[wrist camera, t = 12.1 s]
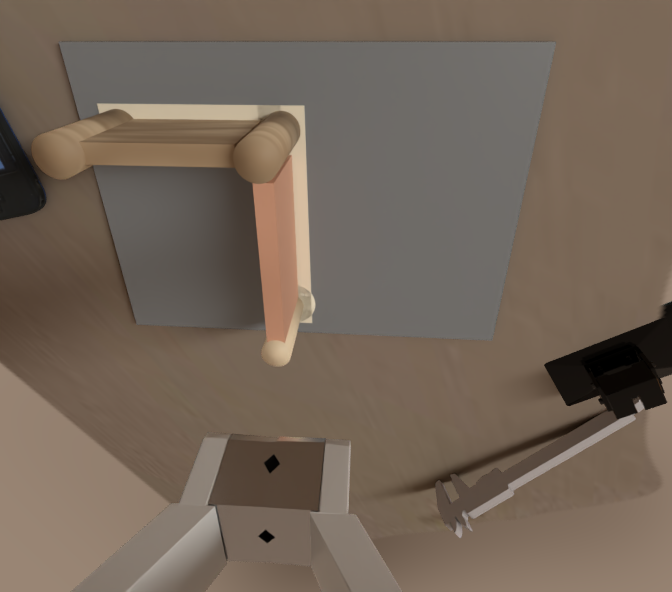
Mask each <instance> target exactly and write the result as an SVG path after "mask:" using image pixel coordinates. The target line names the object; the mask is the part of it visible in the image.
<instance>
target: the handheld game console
mask: <svg viewBox="0 0 672 592" xmlns="http://www.w3.org/2000/svg"><path fill="white" fill-rule="evenodd" d="M45 203H46V194H45V191H44V189H43V187H42V185H41V183H40V181H39V179H38V177H37V175H36V173H35V171H34V170H33V168H32V166H31V164H30V162H29V160H28V158H27V156H26V155H25V153H24V151H23V149H22V147H21V145H20V143H19V142H18V140H17V138H16V136H15V134H14V132H13V131H12V129H11V127H10V125H9V123H8V121H7V120H6V118H5V116H4V114H3V112H2V110H1V109H0V220H4V219H9V218H14V217H19V216H24V215H29V214H32V213H35V212H37V211H39V210H40V209H42V208H43V207H44V205H45Z"/></svg>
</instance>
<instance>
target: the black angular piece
mask: <svg viewBox="0 0 672 592" xmlns="http://www.w3.org/2000/svg"><path fill="white" fill-rule="evenodd" d="M544 366H545V368H546V369H547V371H548V373H549V375H550V376H551V378H552V380H553V382H554V383H555V385H556V387H557V389H558V391H559V392H560V394H561V396H562V398H563V399H564V401H565V403H566V405H567V406H571V405H574V404H576V403H579V402H582V401H585V400H588V399H591V398H593V397H596V396H600V399H598V400H599V402H600V404H601V405H602V404H604V405H605V407H606V408H607V410H608V412H610V411H613V413H614V415H615V417H616V418H617V419H621V418H624V417H627V416H630V415H633V414H636V413H638V411H637V409H636V407H635V405H634V403H633V400H632V399H635V398H637V397H639V398H640V401H641V403H642V405H643V407H644V408H645V410H648V409H651V408H654V407H656V406H660V405H663V404H666V403H667V401H666V398H665V396H664V394H663V393H664V390H663V387H662V385H661V384H662V381H661V379H660V378H663V377H666V376H669V375H672V301H670V302H668V303H665V304H663V305H662V310H661V316H660V319H659V320H657V321H654V322H651V323H649V324H646V325H644V326H641V327H638V328H636V329H633V330H631V331H628V332H626V333H623V334H620V335H618V336H615V337H613V338H610V339H607V340H605V341H602V342H600V343H597V344H594V345H592V346H589V347H587V348H584V349H582V350H579V351H576V352H574V353H571V354H569V355H566V356H563V357H561V358H558V359H556V360H553V361H550V362H548V363H546V364H545V365H544Z"/></svg>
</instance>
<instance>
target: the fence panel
mask: <svg viewBox="0 0 672 592" xmlns="http://www.w3.org/2000/svg"><path fill="white" fill-rule="evenodd" d="M252 184H253V195H254V206H255V216H256V227H257V238H258V249H259V260H260V270H261V281H262V292H263V303H264V313H265V324H266V335H267V337H266V340H265V342H264V345H263V348H262V351H261V355H262V358H263V360H264V361H265V362H266V363H268V364H269V365H272V366H283V365H286V364H287V363H288V362H289V361H290V358H291V354H292V350H293V346H294V343H295V339H296V335H297V331H298V327H299V323H300V320H301V316H302V312H303V308H304V306H303V302H302V301H301V299H300V298H298V279H297V257H296V235H295V214H294V192H293V170H292V155H289V156H288V157H287V159H286V160H285V162H284V163H283V165H282V166H281V168H280V170H279V171H278V173H277V174H276V176H275V177H274V178H273V179H272V180H270V181H269V182H267V183H263V184H254V183H252Z"/></svg>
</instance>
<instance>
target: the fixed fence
mask: <svg viewBox="0 0 672 592" xmlns="http://www.w3.org/2000/svg"><path fill="white" fill-rule="evenodd" d="M299 138H300V125H299V123H298V121H297V119H296V118H295V117H294V116H293V115H292V114H290V113H289V112H286V111H275V112H273V113H271V114H270V115H269V116H268V117H267V118H265V119H264V120H263V121H262V122H261V120H192V119H133V117H132V116H131V115H130V114H128V113H127V112H125V111H123V110H121V109H111V110H109V111H106V112H103V113H100V114H97V115H94V116H92V117H89V118H86V119H83V120H80V121H77V122H75V123H72V124H69V125H66V126H63V127H60V128H58V129H55V130H52V131H49V132H46V133H43V134H41V135H39V136H37V137H36V138H35V139H34V140H33V142H32V147H31V151H32V156H33V159H34V161H35V163H36V164H37V166H38V167H39V168H40V169H41V170H42V171H43V172H44V173H45V174H47V175H48V176H50V177H52V178H55V179H61V180H63V179H68V178H70V177H72V176H74V175H76V174H78V173H80V172H82V171H83V170H85V169H87V168H89V167H91V166H93V165H124V166H175V167H225V168H236V170H237V172H238V173H239V175H240V176H241V177H242V178H244V179H245V180H246V181H248V182H251V183H254V184H263V183H267V182H269V181H270V180H272V179H273V178H274V177H275V176H276V174H277V173H278V171H279V170H280V168H281V166H282V165H283V163H284V162H285V160H286V159H287V157H288V156H289V154H290V153H291V151H292V149H293V148H294V146H295V145H296V143H297V142H298V140H299Z"/></svg>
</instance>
